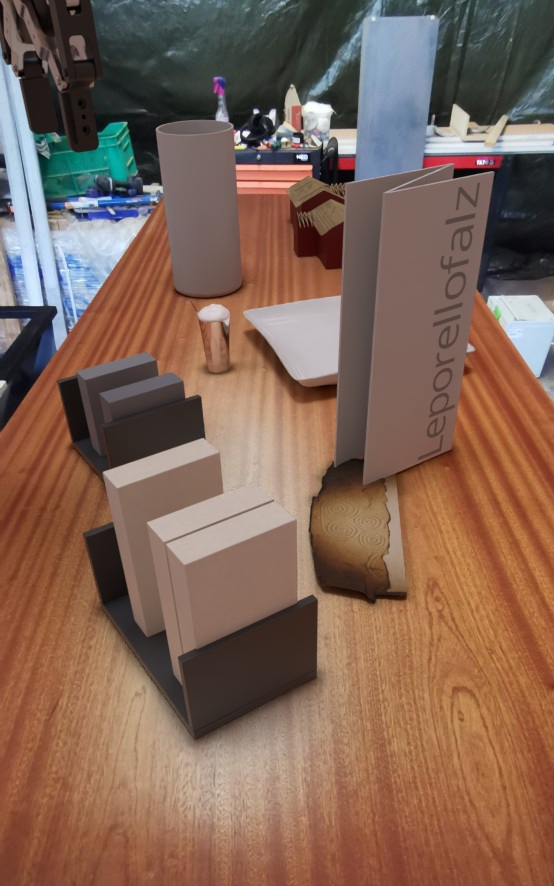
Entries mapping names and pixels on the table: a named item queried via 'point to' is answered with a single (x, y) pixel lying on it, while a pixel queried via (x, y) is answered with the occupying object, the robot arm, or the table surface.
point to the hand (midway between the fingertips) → (64, 141)
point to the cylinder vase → (201, 206)
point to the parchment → (357, 532)
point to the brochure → (406, 313)
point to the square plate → (305, 337)
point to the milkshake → (215, 336)
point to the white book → (156, 513)
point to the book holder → (217, 606)
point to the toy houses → (318, 220)
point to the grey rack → (128, 412)
